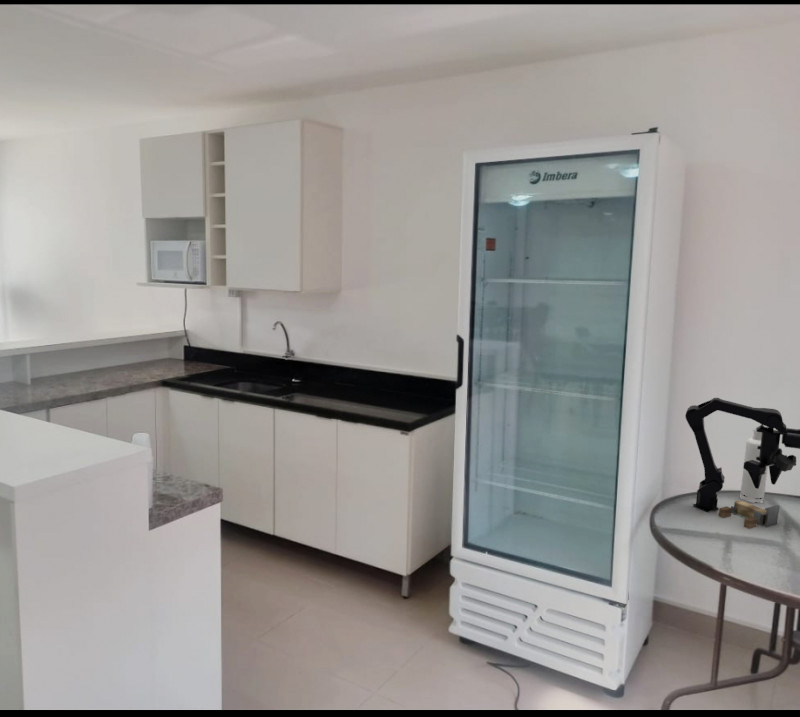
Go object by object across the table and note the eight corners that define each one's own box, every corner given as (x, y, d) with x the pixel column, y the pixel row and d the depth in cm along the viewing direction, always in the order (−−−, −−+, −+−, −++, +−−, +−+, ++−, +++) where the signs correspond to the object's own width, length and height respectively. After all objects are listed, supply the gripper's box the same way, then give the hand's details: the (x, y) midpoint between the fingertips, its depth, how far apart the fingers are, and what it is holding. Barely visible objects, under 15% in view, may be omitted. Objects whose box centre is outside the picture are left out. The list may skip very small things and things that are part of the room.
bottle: (762, 505, 245) (771, 434, 240) (738, 500, 249) (747, 430, 244) (764, 498, 251) (772, 429, 246) (741, 493, 256) (749, 426, 251)
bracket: (726, 511, 238) (728, 493, 237) (738, 507, 242) (740, 490, 240) (765, 527, 225) (768, 508, 224) (778, 523, 228) (780, 505, 227)
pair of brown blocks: (718, 515, 234) (719, 508, 234) (725, 513, 236) (726, 506, 235) (748, 528, 224) (749, 520, 223) (756, 526, 225) (757, 518, 225)
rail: (733, 510, 238) (734, 501, 237) (739, 509, 239) (740, 500, 239) (764, 523, 227) (765, 514, 227) (770, 521, 229) (771, 512, 228)
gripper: (774, 455, 217) (769, 498, 219) (808, 447, 225) (803, 489, 228) (744, 445, 227) (740, 487, 229) (778, 439, 235) (773, 479, 238)
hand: (765, 486), depth 231 cm, fingers open, 9 cm apart
